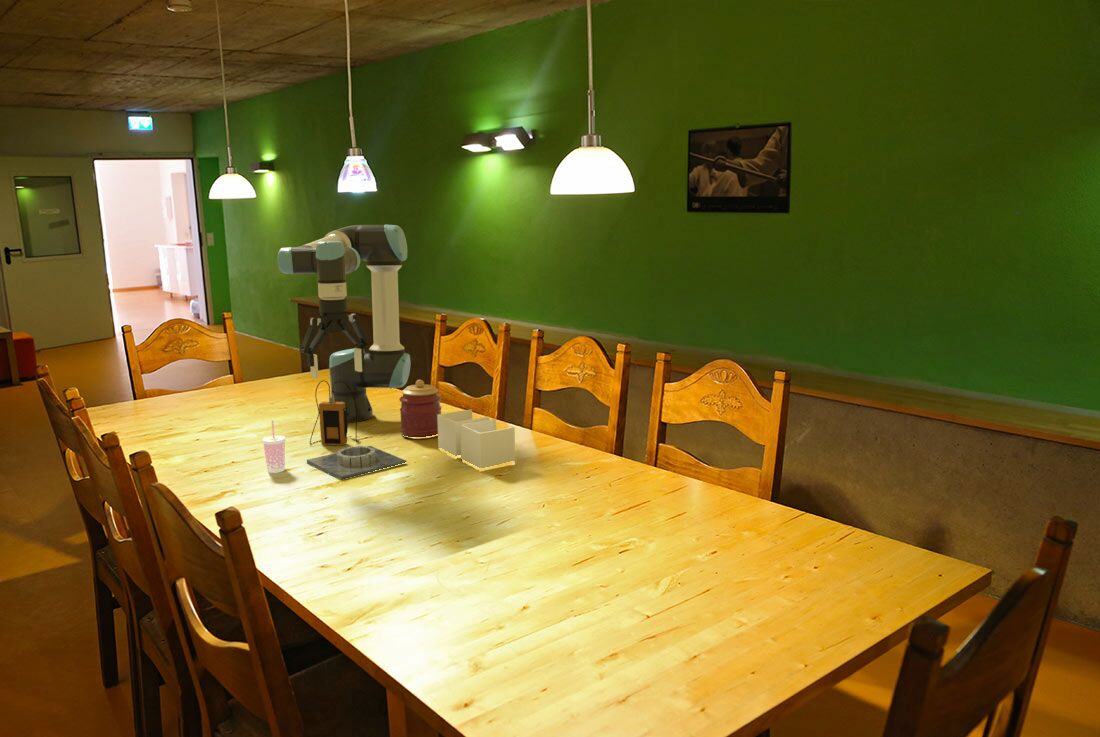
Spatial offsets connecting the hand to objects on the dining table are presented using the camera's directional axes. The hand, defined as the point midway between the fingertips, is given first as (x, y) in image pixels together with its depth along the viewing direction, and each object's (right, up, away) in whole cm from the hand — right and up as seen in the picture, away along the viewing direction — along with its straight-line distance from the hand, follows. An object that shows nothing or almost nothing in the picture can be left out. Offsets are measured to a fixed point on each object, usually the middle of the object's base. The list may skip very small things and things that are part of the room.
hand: (337, 374), depth 229 cm
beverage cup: (-16, -26, -4) cm, 31 cm away
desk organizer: (+38, -24, +6) cm, 45 cm away
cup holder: (+5, -25, +1) cm, 25 cm away
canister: (+19, -19, +30) cm, 41 cm away
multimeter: (-6, -21, +23) cm, 32 cm away
